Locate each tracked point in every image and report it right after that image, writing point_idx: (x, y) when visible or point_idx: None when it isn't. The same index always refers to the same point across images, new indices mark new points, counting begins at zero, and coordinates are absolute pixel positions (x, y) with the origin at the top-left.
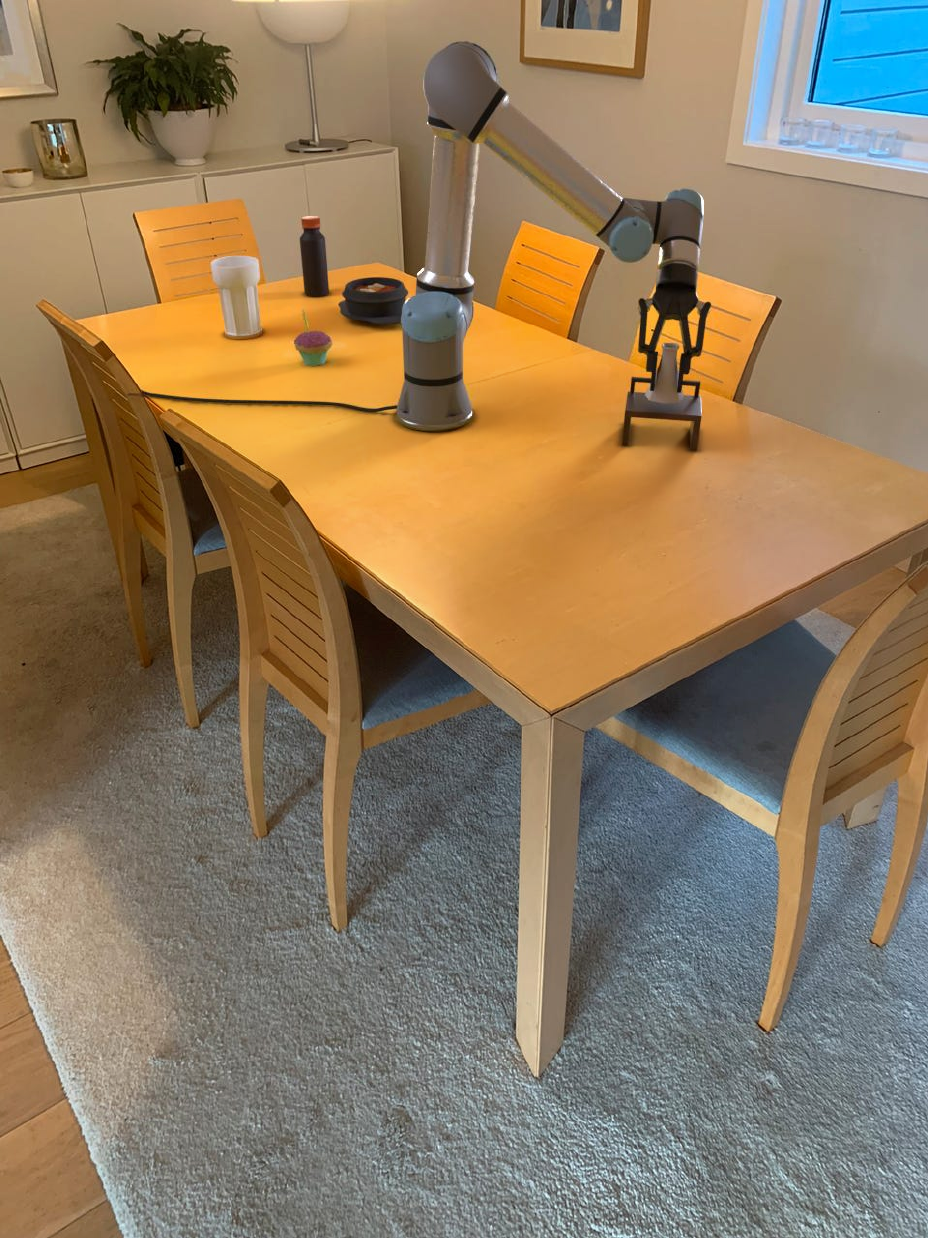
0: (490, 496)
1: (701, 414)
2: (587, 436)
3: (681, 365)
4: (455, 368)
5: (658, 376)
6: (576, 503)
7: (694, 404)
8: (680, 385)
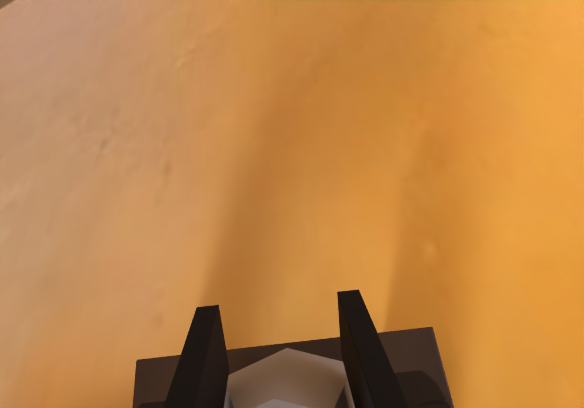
0: (554, 42)
1: (135, 375)
2: (522, 388)
3: (186, 398)
4: None
5: (337, 395)
6: (402, 57)
7: None
8: (205, 307)
